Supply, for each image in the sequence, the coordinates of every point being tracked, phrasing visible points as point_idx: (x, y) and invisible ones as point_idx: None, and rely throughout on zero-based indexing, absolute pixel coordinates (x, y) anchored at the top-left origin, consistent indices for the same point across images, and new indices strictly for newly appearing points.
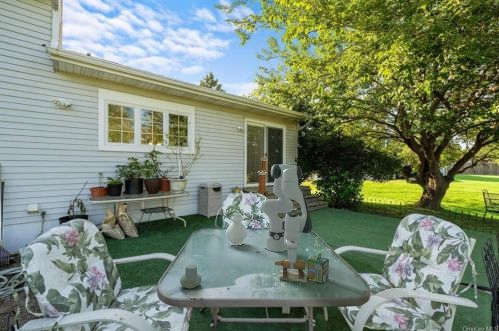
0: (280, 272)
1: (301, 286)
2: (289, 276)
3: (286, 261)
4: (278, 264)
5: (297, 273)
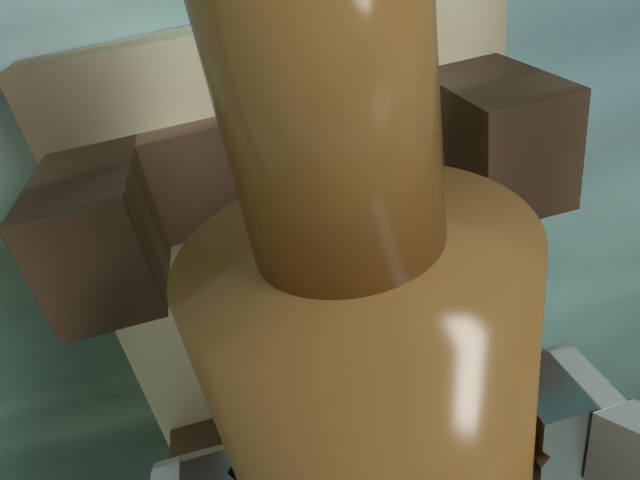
0: None
1: (14, 458)
2: None
3: (278, 461)
4: (196, 35)
5: None
